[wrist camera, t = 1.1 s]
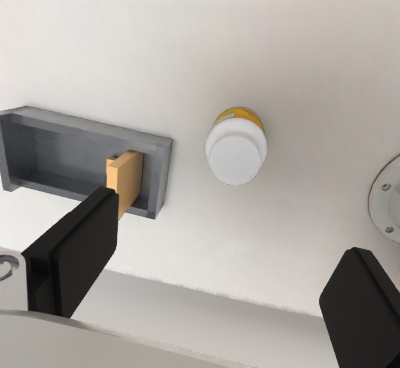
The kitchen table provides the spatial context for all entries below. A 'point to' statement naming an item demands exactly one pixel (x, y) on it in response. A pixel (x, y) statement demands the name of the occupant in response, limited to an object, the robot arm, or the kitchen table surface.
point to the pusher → (125, 177)
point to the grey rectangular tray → (77, 156)
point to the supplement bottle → (236, 146)
